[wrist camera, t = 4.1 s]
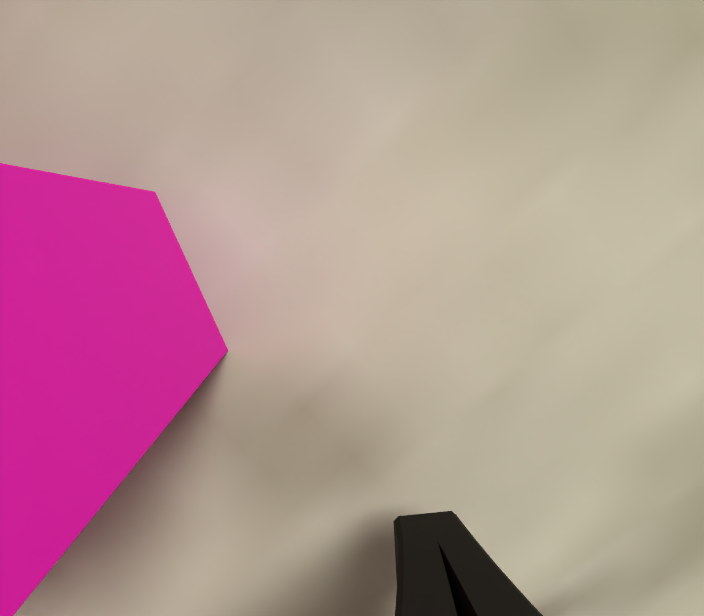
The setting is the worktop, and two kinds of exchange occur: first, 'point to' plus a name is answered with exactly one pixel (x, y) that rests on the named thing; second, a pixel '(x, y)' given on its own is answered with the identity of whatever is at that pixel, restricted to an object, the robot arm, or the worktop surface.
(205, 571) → the worktop surface
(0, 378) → the toy block
